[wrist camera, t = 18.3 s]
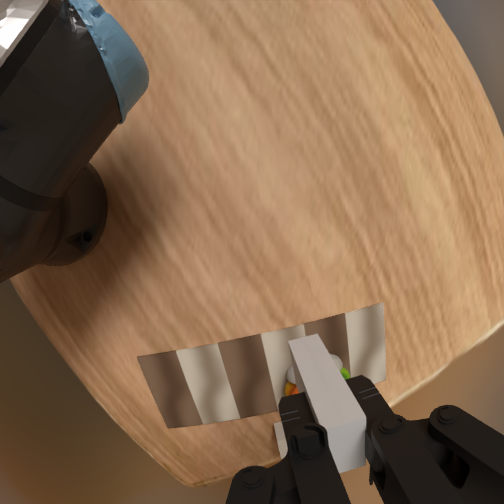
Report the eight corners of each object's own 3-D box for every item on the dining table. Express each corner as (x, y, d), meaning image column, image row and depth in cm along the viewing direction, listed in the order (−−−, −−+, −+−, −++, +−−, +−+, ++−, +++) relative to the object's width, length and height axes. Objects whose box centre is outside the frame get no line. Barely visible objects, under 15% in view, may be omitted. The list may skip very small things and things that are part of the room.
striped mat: (168, 427, 46) (168, 428, 46) (137, 356, 43) (136, 357, 43) (385, 378, 47) (385, 379, 47) (382, 302, 44) (383, 302, 44)
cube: (277, 440, 48) (281, 458, 44) (273, 422, 47) (277, 441, 43) (303, 435, 48) (308, 452, 44) (300, 417, 47) (306, 434, 43)
